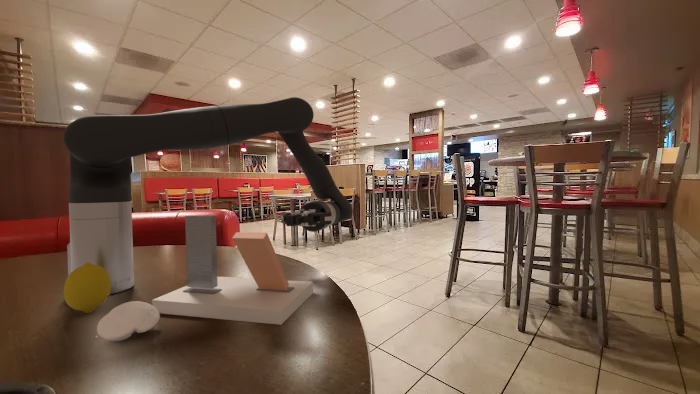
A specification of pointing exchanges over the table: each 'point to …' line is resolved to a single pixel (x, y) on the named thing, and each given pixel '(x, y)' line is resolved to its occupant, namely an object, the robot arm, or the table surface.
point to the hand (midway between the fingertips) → (289, 221)
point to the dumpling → (127, 320)
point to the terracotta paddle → (261, 260)
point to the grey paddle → (201, 251)
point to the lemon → (87, 287)
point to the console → (236, 301)
